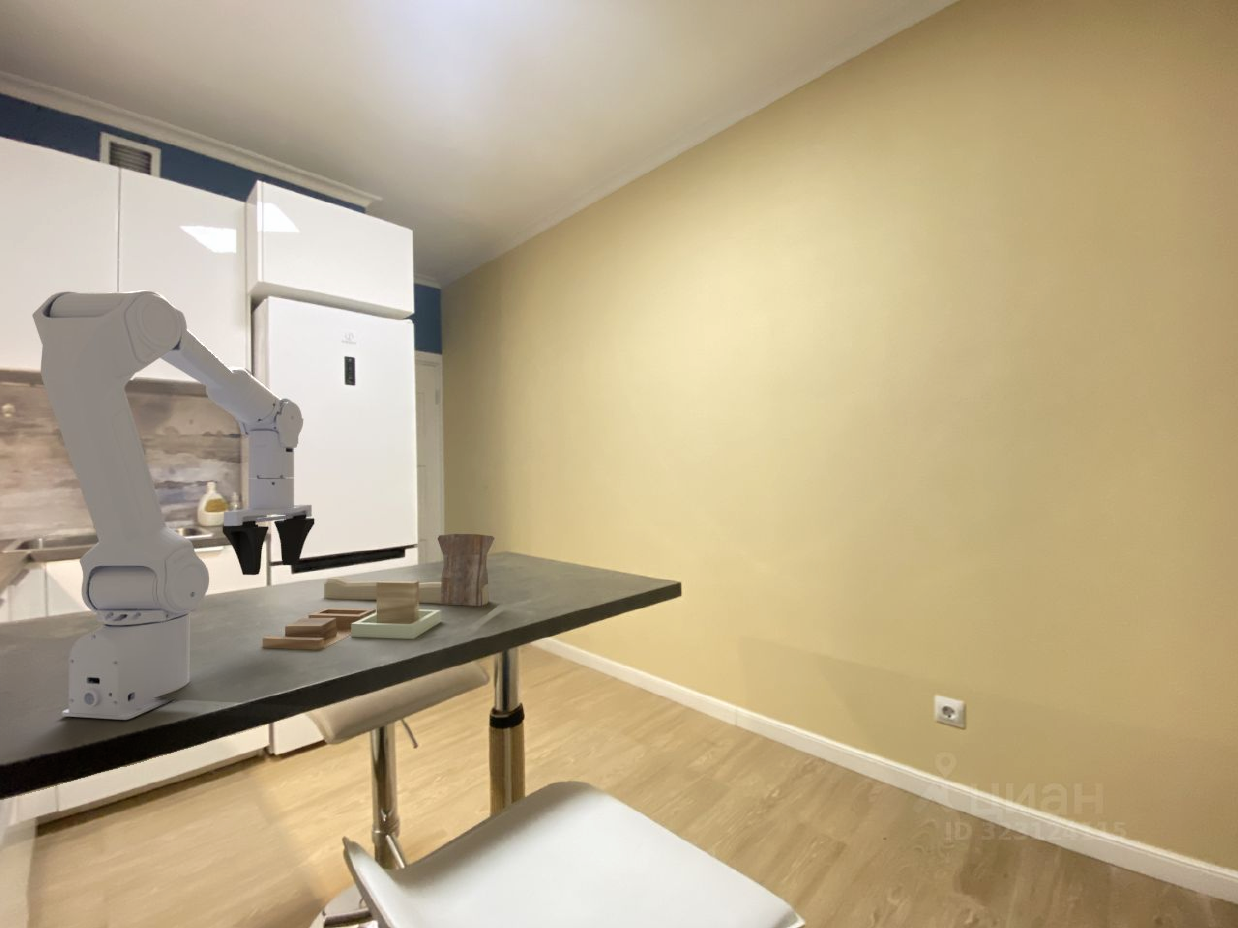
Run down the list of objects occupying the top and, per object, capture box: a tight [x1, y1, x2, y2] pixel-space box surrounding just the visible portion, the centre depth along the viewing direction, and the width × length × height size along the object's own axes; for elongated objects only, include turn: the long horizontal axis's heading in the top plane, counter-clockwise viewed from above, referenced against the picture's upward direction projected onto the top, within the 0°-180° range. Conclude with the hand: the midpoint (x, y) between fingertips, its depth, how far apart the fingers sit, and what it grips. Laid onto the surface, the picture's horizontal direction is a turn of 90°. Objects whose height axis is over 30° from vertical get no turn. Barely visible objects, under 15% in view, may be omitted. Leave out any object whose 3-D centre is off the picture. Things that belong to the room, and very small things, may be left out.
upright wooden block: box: [376, 579, 420, 624], centre depth 81 cm, size 2×6×8 cm, turn 83°
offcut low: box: [284, 627, 337, 641], centre depth 76 cm, size 4×5×1 cm
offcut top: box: [284, 617, 336, 636], centre depth 76 cm, size 4×5×1 cm
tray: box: [350, 608, 442, 640], centre depth 81 cm, size 9×10×3 cm
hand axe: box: [323, 533, 495, 607], centre depth 99 cm, size 35×3×14 cm, turn 78°
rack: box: [261, 607, 377, 650], centre depth 79 cm, size 14×9×3 cm, turn 173°
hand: (271, 569), depth 79 cm, fingers open, 7 cm apart
